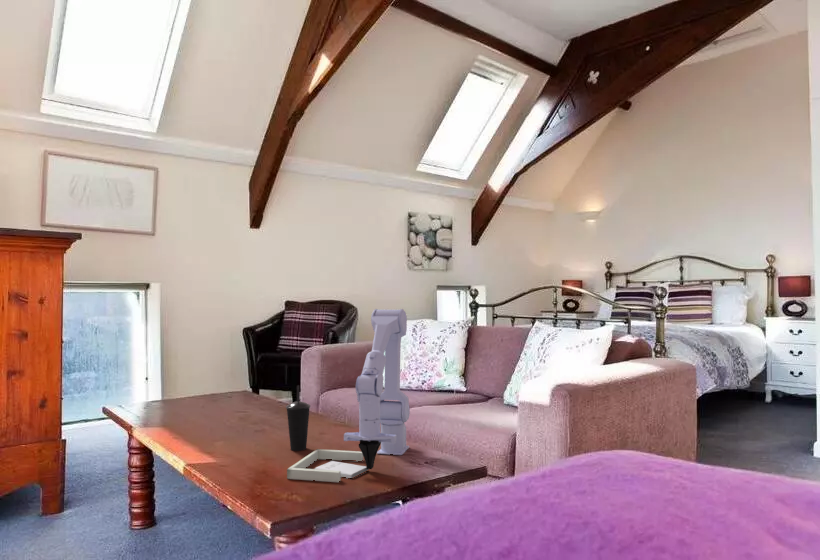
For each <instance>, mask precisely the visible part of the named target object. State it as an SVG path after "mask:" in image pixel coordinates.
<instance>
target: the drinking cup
mask: <svg viewBox="0 0 820 560" xmlns="http://www.w3.org/2000/svg"><path fill="white" fill-rule="evenodd" d="M310 408H311V404H310V403H307V402H305V401H300V385H299V384H297V385H296V401H294V402H291V403H289V404H287V405H285V409H286V414H287V424H288V435H289V446H290V450H291V451H293V452H301V451H305V450H307V445H308V432H309V431H308V430H309V419H310Z"/></svg>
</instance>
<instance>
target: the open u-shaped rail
mask: <svg viewBox="0 0 820 560" xmlns="http://www.w3.org/2000/svg"><path fill="white" fill-rule="evenodd" d="M317 459H318V460H326V459H332V460H331V461H342V460H356V461H355V462H358V461H362V460H363V461H364V456H363V454H362V452H361V450H360V451H357V450H338V449H323V448H321V449H320V448H317V449H314V451H312V452H311V453H309V454H308V455H306V456H305V457H303V458H302V459H300V460H299V461H297V462H296V463H294V464H293V465H291V466H289V467H288V468H287V469H286V479H288V480H298V481H299V480H302V481H313V480H315V482H329V483H330V482H331V483H340V482H341V478H342V477H341V471H334V470H319V469H315V468H308V467H309V466H311V465H312V464H313V463H315V462H316V461H318V460H317ZM314 461H315V462H314ZM363 461H362V462H363ZM310 464H311V465H310ZM306 467H307V468H306ZM339 481H340V482H339Z"/></svg>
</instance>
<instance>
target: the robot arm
mask: <svg viewBox="0 0 820 560" xmlns="http://www.w3.org/2000/svg"><path fill="white" fill-rule="evenodd" d="M370 321H371V327H372V330H373V332H374V334H373V335H374V336H373V341H372V345H371V347H372V348H371V351H369V352H368V353H367V354H366V355H365V356H366V357H365V360H364V364H363V367H362V370H361V374H360V375H359V376H357V378H356V380H355V381H356V382H355V393H356V397H357V398H356V399H357V402H358V409H359V410H358V412H359V413H358V415H359V417H358V418H359V419H358V420H359V422H358V423H359V424H358V425H359V427H358V429H359V431H355V432H348V431H347V432H346V431H345V433H343V442H348V441H349V442H350V441H351V442H353V441H354V442H359V444H358V448H359V450H360V452H362V454H363V460H364V461H365V466H366V467H367V469H369V470H372V469H373V468H374V465H375V460H376V456H377V454H378V455H390V454H393V455H395V456H402V455H404V454H405V453H406V452H407V450H409V448H410V445H407V426H406V424H405V423H406V422H408V420H409V418H410V413H411V412H410V409H411V408H410V403H409V401H410V400H409V397H408V396H407V395H406V393H404V392H403V391H402V390H401V349H402V348H401V343H402V338H403V337H404V336H406V335H407V331H408V330H407V329H408V327H407V326H408V322H407V321H408V317H407V313H406V310H404V309H403V308H400V309H377V308H375V309H373V310H372V312H371V316H370ZM383 374H384V376H383ZM383 390H384V391H383ZM379 448H380V449H379Z"/></svg>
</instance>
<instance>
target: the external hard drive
mask: <svg viewBox="0 0 820 560" xmlns="http://www.w3.org/2000/svg"><path fill="white" fill-rule="evenodd" d="M314 469H319V470H334V471H341V478H342V477H346V478H345V479H348V478H353V477H355V476H357V475H359V474H361V473H363V472H365V471H367V470H370V469H367V467H366V465H359V464H353V463H347V462H341V461H336V460H329V461H328V462H326V463H324V464H321V465H319V466H316V467H315V468H314ZM365 473H366V472H365ZM363 474H364V473H363ZM361 475H362V474H361ZM359 476H360V475H359ZM357 477H358V476H357ZM355 478H356V477H355ZM353 479H354V478H353Z"/></svg>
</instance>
